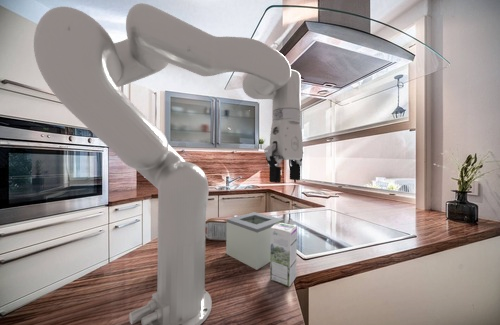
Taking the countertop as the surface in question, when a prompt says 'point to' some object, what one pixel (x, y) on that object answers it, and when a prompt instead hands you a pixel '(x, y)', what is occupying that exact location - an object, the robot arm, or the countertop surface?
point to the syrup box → (283, 253)
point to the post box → (250, 238)
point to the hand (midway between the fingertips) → (285, 181)
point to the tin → (216, 229)
